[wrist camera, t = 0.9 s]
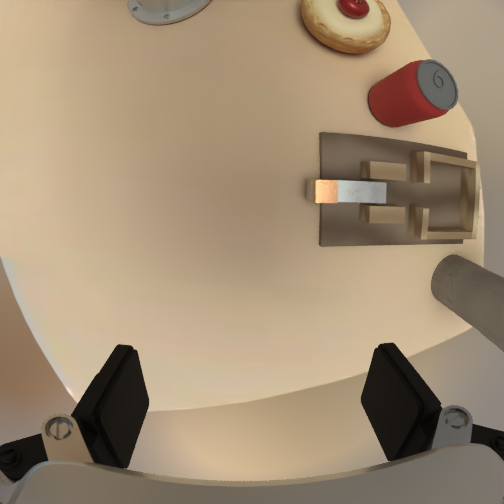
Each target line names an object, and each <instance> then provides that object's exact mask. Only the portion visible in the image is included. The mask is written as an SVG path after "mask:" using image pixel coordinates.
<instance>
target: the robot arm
mask: <svg viewBox="0 0 504 504" xmlns="http://www.w3.org/2000/svg"><path fill="white" fill-rule="evenodd" d="M210 1H211V0H128V8H129V10H130V12H131V14H132V15H133V16H134V17H135V18H136V19H137V20H139V21H141V22H144V23H147V24H153V25H162V24H170V23H174V22H178V21H181V20H183V19H186V18H188V17H190V16H192V15H194V14H196V13H197V12H199V11H200V10H202V9H203V8H204V7H205V6H206V5H207V4H208V3H209V2H210ZM361 403H362V406H363V408H364V410H365V412H366V414H367V416H368V418H369V421H370V423H371V425H372V427H373V429H374V431H375V434H376V436H377V438H378V440H379V442H380V445H381V447H382V449H383V451H384V453H385V455H386V457H387V460H388V461H391V462H387V463H383V464H379V465H375V466H371V467H366V468H362V469H357V470H352V471H348V472H341V473H336V474H329V475H323V476H315V477H307V478H298V479H286V480H270V481H214V480H199V479H187V478H178V477H170V476H163V475H156V474H149V473H143V472H137V471H132V470H127V469H124V468H127V467H128V466H129V463H130V460H131V457H132V454H133V451H134V448H135V444H136V442H137V439H138V436H139V433H140V430H141V427H142V424H143V421H144V419H145V416H146V413H147V410H148V407H149V398H148V394H147V390H146V386H145V382H144V378H143V374H142V369H141V365H140V360H139V356H138V352H137V350H134V349H133V347H132V346H130V345H121V344H118V345H117V346H116V347H115V349H114V350H113V352H112V353H111V355H110V357H109V358H108V360H107V361H106V363H105V364H104V366H103V367H102V369H101V370H100V372H99V373H98V374H97V375H96V376H95V377H94V379H93V380H92V382H91V384H90V385H89V387H88V388H87V390H86V391H85V393H84V395H83V396H82V398H81V400H80V401H79V403H78V404H77V406H76V408H75V409H74V411H73V413H72V414H71V416H69V415H67V414H54V415H52V416H49V417H48V418H47V419H45V421H44V422H43V423H42V426H41V433H40V434H37V435H34V436H30V437H27V438H23V439H20V440H16V441H13V442H10V443H6V444H3V445H1V446H0V504H504V432H503V431H499V430H495V429H491V428H487V427H483V426H479V425H475V424H472V423H473V419H472V416H471V414H470V412H468V410H466V409H465V408H463V407H461V406H456V405H451V406H447V407H445V408H444V409H442V407H441V406H440V405H441V402H440V401H439V400H438V398H437V397H436V396H435V394H434V393H433V392H432V391H431V389H430V388H429V387H428V385H427V384H426V383H425V381H424V380H423V379H422V378H421V376H420V375H419V374H418V373H417V371H416V370H415V369H414V367H413V366H412V365H411V364H410V362H409V361H408V360H407V359H406V357H405V356H404V355H403V354H402V352H401V351H400V350H399V349H398V347H397V346H396V345H395V344H394V343H384V344H380V345H379V346H378V348H375V350H374V353H373V357H372V361H371V365H370V368H369V372H368V375H367V379H366V382H365V386H364V389H363V392H362V395H361Z"/></svg>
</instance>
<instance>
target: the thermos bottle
mask: <svg viewBox="0 0 504 504" xmlns="http://www.w3.org/2000/svg"><path fill="white" fill-rule="evenodd" d="M431 285H432V293H433V295H434V297H435V298H436V299H437V300H438V301H439V302H441V303H442V304H443V305H445V306H446V307H448V308H449V309H450V310H452V311H453V312H454V313H456V314H457V315H458V316H460V317H461V318H462V319H463V320H465V321H466V322H467V323H469V324H470V325H472V326H473V327H475V328H476V329H478V330H479V331H480V332H481V333H482V334H483V335H484V336H485V337H486V338H488V339H489V340H490V341H492V342H493V343H494V344H495V345H496V346H498V347H499V348H500V349H501V350H502V351H503V352H504V278H503V277H501V276H499V275H497V274H495V273H493V272H490V271H488V270H487V269H485V268H483V267H481V266H479V265H477V264H475V263H473V262H471V261H469V260H466V259H464V258H462V257H460V256H458V255H450V256H448V257H446V258H445V259H443V260H442V261H441V262H440V264H439V265H438V266H437V268H436V270H435V272H434V274H433V278H432V284H431Z"/></svg>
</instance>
